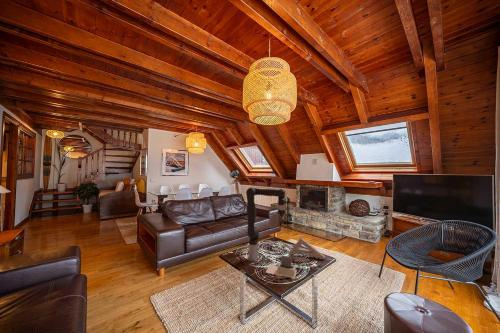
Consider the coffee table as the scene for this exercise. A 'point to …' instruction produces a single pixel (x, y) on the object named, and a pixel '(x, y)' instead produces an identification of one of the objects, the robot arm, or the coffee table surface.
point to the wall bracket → (311, 250)
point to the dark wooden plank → (286, 262)
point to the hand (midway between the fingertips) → (281, 224)
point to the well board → (282, 271)
